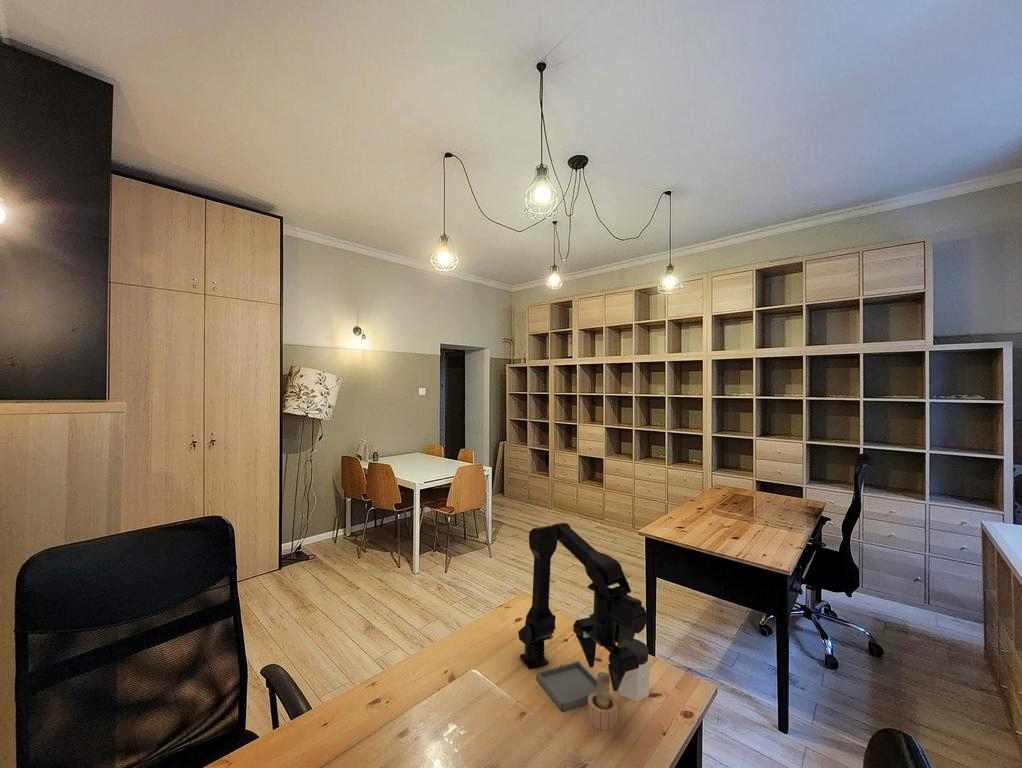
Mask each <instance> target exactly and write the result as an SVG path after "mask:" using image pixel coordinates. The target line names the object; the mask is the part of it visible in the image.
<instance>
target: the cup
mask: <svg viewBox="0 0 1022 768" xmlns="http://www.w3.org/2000/svg"><path fill="white" fill-rule="evenodd" d="M596 695H597V692H594V693H591V694H590V695H589V697H588V704H586V705H587V707H586V708H587V709H586V716H587V721H588V722H589V723H590V725H592V726H593V727H594V728H596V729H599V730H602V731H611V730H614V729H615V728H616V727H617V724H618V716H619V715H618V713H619V712H618V711H619V706H618V701H617V700H616V698H614V697H613V696H612V695H611V694H609V709H608V710H604V709H600V708H598V707H596Z"/></svg>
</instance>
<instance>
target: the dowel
mask: <svg viewBox="0 0 1022 768" xmlns="http://www.w3.org/2000/svg"><path fill="white" fill-rule="evenodd" d="M596 679H597V695H596V707H598V708H600V709H604V710H608V709H609V695H610V683H611V678H610V674H609V673H607V672H604V671H599V672H598V673H596Z"/></svg>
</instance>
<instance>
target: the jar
mask: <svg viewBox="0 0 1022 768" xmlns="http://www.w3.org/2000/svg"><path fill="white" fill-rule="evenodd" d="M616 645H617V646H618V647H619V648H623V647H626V646H627V647H628V648H629V649H630V650H632V651H633V652H634V653H635V654H637V656H638V657H639V668H637V669H634V670H630V671H627V672H626V673H625V675H624V677H623V679H622V681H621V684H620V686H619V688H618V690H617V692H618V694H619V696H621V697H623V698H626V699H629V700H632V701H634V702H638V703H639V702H640V701H641V700H643V699H645V698H647V697H649V695H650V663H651V661H650V660H649V648H648V645H646V644H645V642H643V641H641V640H638V639H635V638H634V639H633V642H630V641H629V640H624V639H622V642H621V643H618V642H616Z"/></svg>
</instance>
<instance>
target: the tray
mask: <svg viewBox="0 0 1022 768" xmlns="http://www.w3.org/2000/svg"><path fill="white" fill-rule="evenodd" d="M535 673H536V677H535V680H536V681H537V683H538V684H539V685H540V687H541V688H542V689H543V690H544V692H545V693H546V694H547V696H549V698H550V699H551V700H552V702H553V704H555V706H556V707H557V708H558V709H559V711H560V712H561V713H564V712H567V711H570V710H571V711H572V710H573V709H577V708H579V707H583V706H585V705H588V697H589V695H590V694H591V693H594V692H597V677H595V676H594V675H593V673H591V672H590V671H589V669H587V668H586V666H584V665H583V664H582V663H581V662H580V661H579V660H576V661H573V662H569V663H566V664H562V665H558V666H554V667H552V668H548V669H544V670H541V671H537V672H535Z"/></svg>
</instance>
